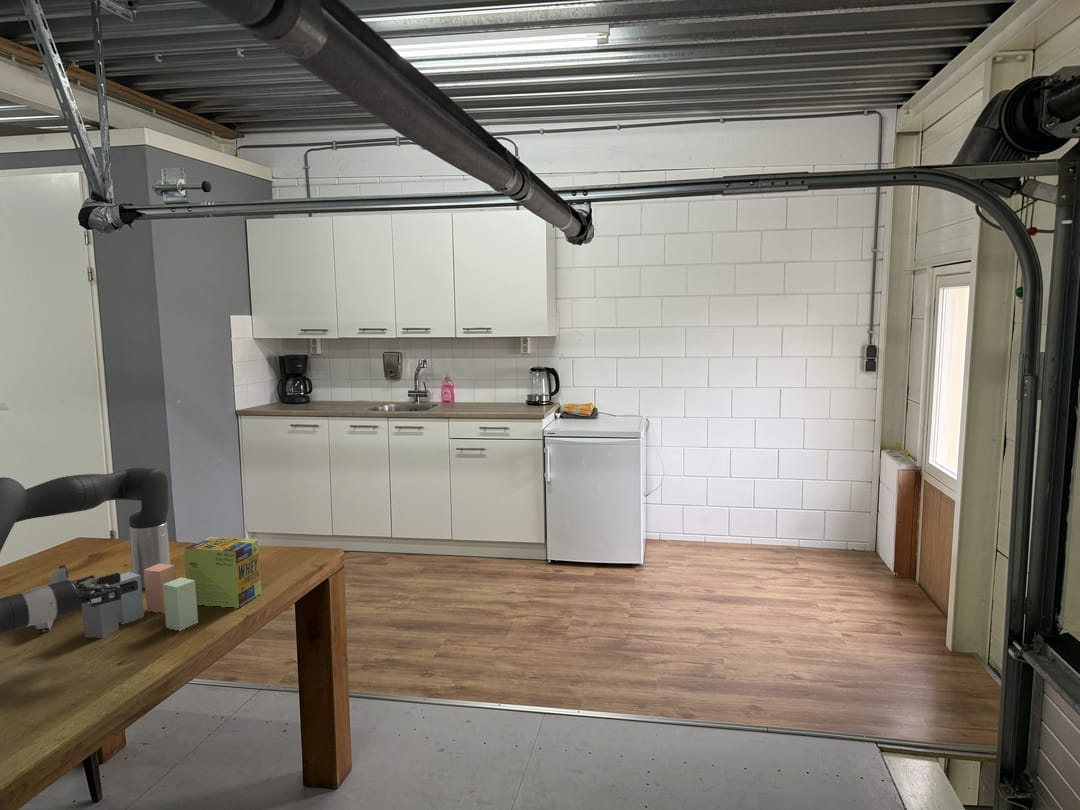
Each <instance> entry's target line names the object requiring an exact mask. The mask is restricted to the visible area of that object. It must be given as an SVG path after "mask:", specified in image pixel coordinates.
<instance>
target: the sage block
mask: <svg viewBox="0 0 1080 810" xmlns="http://www.w3.org/2000/svg"><path fill="white" fill-rule="evenodd" d="M163 594H164V606H165V612H164V615H165V616H164V618H165V627H166V629H170V630H173V629H174V631H177V630H179V631H178V632H182V631H184V630H186V629H185V628H187V627H189V626H191V625H193V624H195V625H197V624H196V623H198V624H199V617H198V616H199V615H198V605H197V601H196V588H195V580H191V579H186V577H178V578H176V579H175V580H173V581H170V582H167V583H165V584H163ZM193 626H194V625H193ZM191 627H192V626H191ZM189 628H190V627H189ZM183 629H184V630H183ZM187 629H188V628H187ZM181 630H182V631H181Z"/></svg>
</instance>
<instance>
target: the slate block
mask: <svg viewBox="0 0 1080 810" xmlns="http://www.w3.org/2000/svg"><path fill="white" fill-rule="evenodd" d="M119 574H120V577H121V581H120V582H119V583H115V584H112V585H119V584H122V583H126V582H130V581H133V580H135V581H137V582H138V589H137V590H135V591H132V592H129V593H125V594H122V595H121V599H120V600H117V611H118V622H120V623H119V624H121V623H123V624H122V625H126V624H125V623H127V624H129V623H128V622H130V623H132V622H134V621H133V620H135V621H137V620H136V619H138V620H140V619H143V618H145V613H144V603H143V591H142V589H143V588H141V577H140V575H138V574H135V573H132V571H127V572H123V573H119ZM142 617H143V618H142ZM139 618H140V619H139ZM131 621H132V622H131Z"/></svg>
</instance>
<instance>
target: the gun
mask: <svg viewBox="0 0 1080 810" xmlns="http://www.w3.org/2000/svg"><path fill="white" fill-rule="evenodd" d="M64 580H69V571H68V567H67V566H66V565H65V564H63V565H59V566H58V568H55V569H54V570H53V571H52V574H51V575H50V578H49V581H47V585H49V584H53V583H57V582H60V581H64ZM54 622H55V620H52V621H48V622H45V623H41V624H37V625H34V626H35V629H36V630H37V631H38V633H39V632H44V633H47V632H46V631H49V632H50V631H51V628H52V626H53V623H54Z"/></svg>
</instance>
